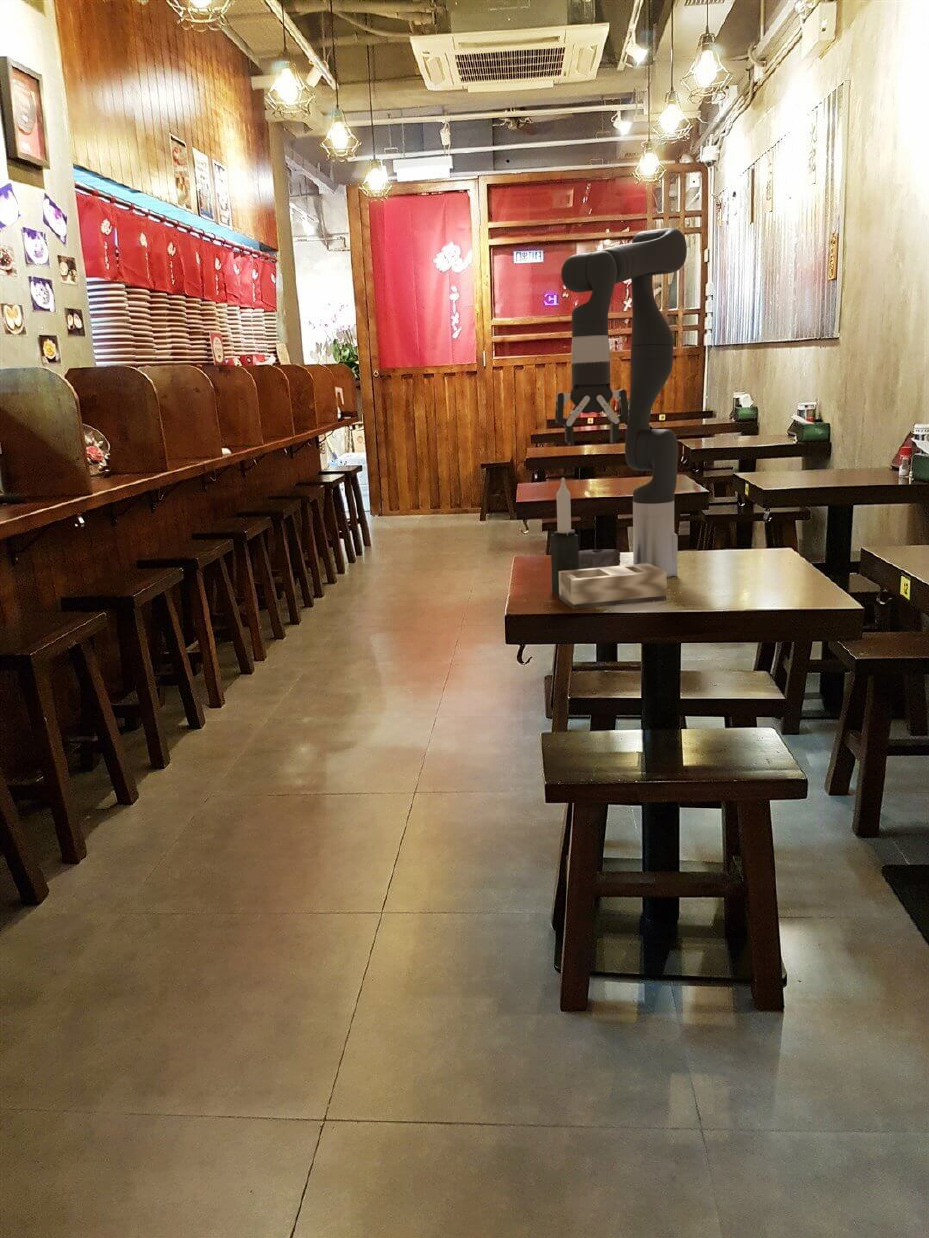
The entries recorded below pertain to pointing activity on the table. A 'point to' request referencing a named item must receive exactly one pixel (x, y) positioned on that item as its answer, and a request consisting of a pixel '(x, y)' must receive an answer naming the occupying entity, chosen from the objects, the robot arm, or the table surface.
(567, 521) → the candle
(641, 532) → the robot arm
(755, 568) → the table surface
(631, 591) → the stand
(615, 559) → the perforated stone tool
